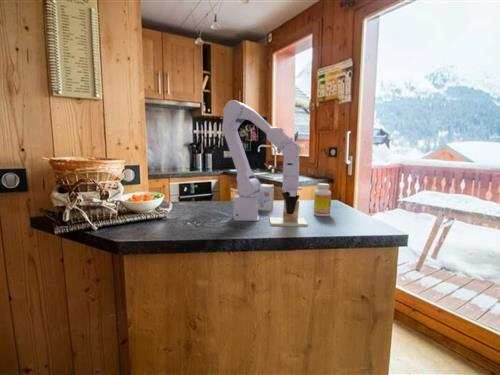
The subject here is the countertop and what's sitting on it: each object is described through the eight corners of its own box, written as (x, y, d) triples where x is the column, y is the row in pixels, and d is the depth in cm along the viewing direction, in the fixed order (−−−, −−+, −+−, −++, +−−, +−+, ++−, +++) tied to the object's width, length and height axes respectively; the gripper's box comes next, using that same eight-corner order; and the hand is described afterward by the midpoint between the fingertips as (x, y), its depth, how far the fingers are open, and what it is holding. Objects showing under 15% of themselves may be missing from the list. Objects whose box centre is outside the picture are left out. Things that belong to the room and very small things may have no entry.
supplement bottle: (330, 217, 117) (332, 185, 115) (313, 216, 118) (315, 184, 116) (329, 213, 123) (331, 183, 121) (313, 212, 125) (314, 182, 123)
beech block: (283, 221, 106) (285, 200, 105) (282, 218, 110) (284, 198, 108) (297, 221, 106) (299, 201, 105) (296, 219, 110) (297, 199, 108)
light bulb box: (246, 209, 129) (246, 184, 127) (250, 206, 135) (251, 183, 134) (270, 211, 126) (270, 186, 124) (273, 208, 132) (274, 184, 131)
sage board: (270, 225, 104) (270, 223, 103) (269, 219, 112) (269, 217, 112) (307, 226, 103) (307, 224, 103) (303, 219, 112) (303, 217, 112)
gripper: (305, 178, 98) (303, 217, 100) (298, 173, 113) (297, 208, 115) (284, 177, 98) (283, 217, 100) (280, 173, 113) (279, 208, 115)
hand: (289, 212), depth 107 cm, fingers open, 3 cm apart
